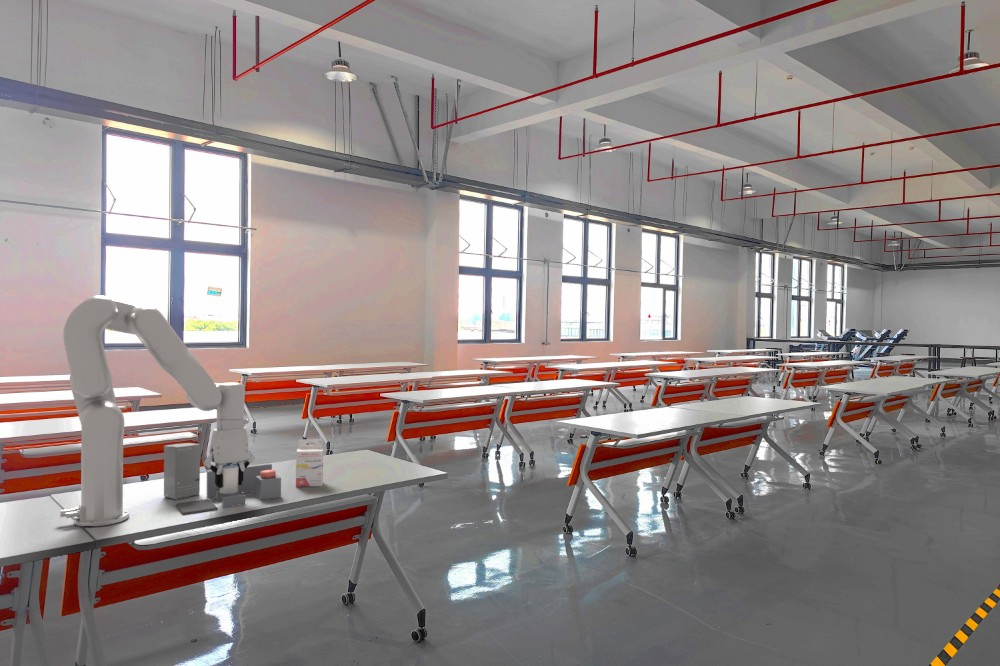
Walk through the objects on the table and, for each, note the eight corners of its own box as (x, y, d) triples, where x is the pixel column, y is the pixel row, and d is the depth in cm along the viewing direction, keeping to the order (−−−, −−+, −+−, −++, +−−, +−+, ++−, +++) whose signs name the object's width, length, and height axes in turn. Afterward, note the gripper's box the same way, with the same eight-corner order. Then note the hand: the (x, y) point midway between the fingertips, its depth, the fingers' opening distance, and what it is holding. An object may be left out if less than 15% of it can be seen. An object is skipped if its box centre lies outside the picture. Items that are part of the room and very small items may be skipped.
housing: (218, 508, 186) (218, 480, 186) (206, 496, 198) (206, 470, 198) (284, 498, 197) (284, 472, 197) (269, 487, 209) (270, 463, 209)
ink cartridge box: (295, 487, 210) (296, 442, 210) (296, 483, 215) (296, 439, 215) (323, 486, 212) (323, 441, 212) (323, 482, 217) (323, 438, 217)
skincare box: (175, 500, 193) (176, 447, 193) (161, 497, 197) (162, 445, 196) (201, 494, 200) (202, 443, 200) (187, 491, 204) (188, 440, 204)
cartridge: (223, 494, 189) (224, 465, 188) (217, 491, 192) (217, 462, 192) (240, 492, 192) (241, 463, 192) (234, 488, 196) (235, 460, 196)
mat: (182, 514, 179) (182, 512, 179) (175, 505, 188) (175, 503, 188) (217, 509, 184) (217, 507, 184) (208, 500, 193) (208, 498, 193)
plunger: (262, 493, 196) (262, 473, 196) (258, 490, 199) (258, 471, 199) (277, 491, 198) (277, 472, 198) (273, 488, 202) (273, 469, 202)
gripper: (253, 420, 200) (252, 479, 201) (195, 425, 189) (194, 487, 189) (263, 423, 195) (262, 483, 195) (204, 428, 183) (203, 492, 184)
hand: (229, 484), depth 192 cm, fingers closed on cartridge, 5 cm apart
